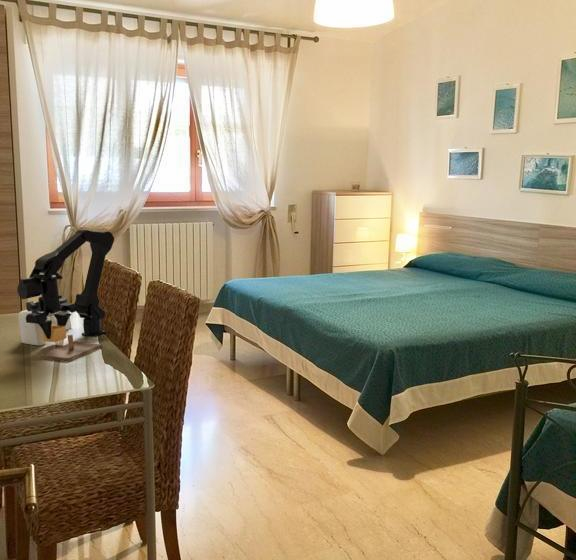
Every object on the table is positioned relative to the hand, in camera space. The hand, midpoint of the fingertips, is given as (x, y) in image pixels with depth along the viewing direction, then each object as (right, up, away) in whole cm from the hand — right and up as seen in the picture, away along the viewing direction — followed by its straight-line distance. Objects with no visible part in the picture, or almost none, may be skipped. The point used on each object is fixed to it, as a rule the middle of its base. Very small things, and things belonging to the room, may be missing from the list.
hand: (54, 336), depth 215 cm
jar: (-7, +1, +22) cm, 23 cm away
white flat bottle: (-9, -3, +4) cm, 11 cm away
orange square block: (0, -1, 0) cm, 1 cm away
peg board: (+9, -5, -9) cm, 13 cm away
